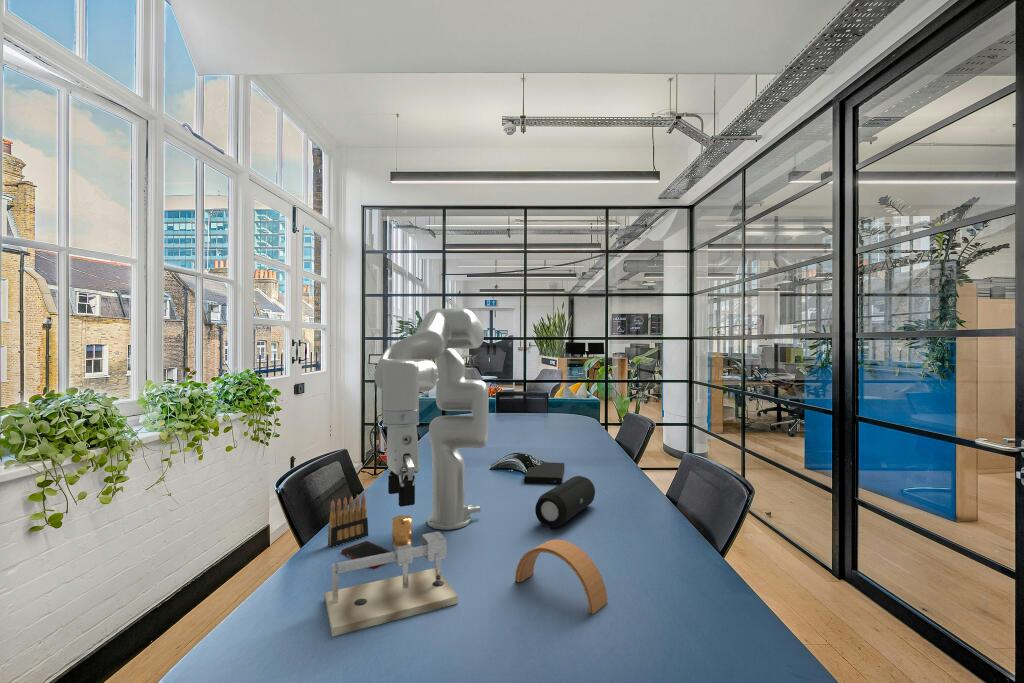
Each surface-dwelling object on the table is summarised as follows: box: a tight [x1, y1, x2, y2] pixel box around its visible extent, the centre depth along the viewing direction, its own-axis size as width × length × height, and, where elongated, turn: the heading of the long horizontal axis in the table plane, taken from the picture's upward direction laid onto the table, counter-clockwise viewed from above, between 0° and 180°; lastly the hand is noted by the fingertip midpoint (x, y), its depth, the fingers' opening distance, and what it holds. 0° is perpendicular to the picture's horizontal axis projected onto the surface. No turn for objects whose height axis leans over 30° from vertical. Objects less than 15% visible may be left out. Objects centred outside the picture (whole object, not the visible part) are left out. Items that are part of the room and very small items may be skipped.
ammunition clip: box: [327, 492, 369, 548], centre depth 129 cm, size 11×2×12 cm, turn 135°
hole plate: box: [324, 567, 459, 637], centre depth 98 cm, size 24×14×2 cm, turn 116°
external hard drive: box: [523, 461, 566, 486], centre depth 191 cm, size 14×23×3 cm, turn 171°
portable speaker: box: [534, 475, 596, 529], centre depth 146 cm, size 26×10×10 cm, turn 148°
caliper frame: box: [331, 531, 447, 603], centre depth 100 cm, size 23×6×9 cm, turn 116°
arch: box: [514, 539, 608, 615], centre depth 101 cm, size 6×20×10 cm, turn 49°
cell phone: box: [341, 540, 391, 570], centre depth 119 cm, size 8×15×1 cm, turn 50°
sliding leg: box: [391, 514, 414, 589], centre depth 101 cm, size 4×5×14 cm
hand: (401, 498), depth 101 cm, fingers open, 9 cm apart
